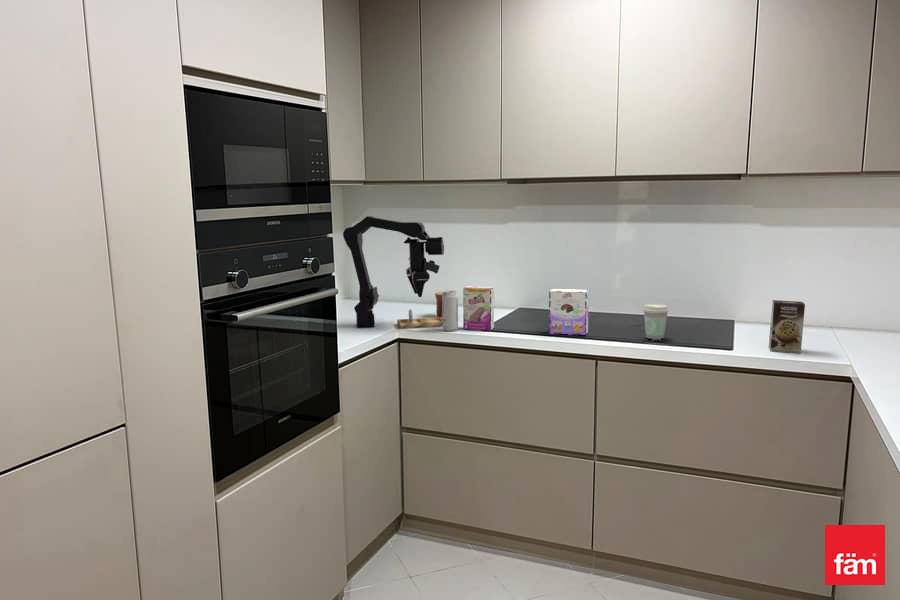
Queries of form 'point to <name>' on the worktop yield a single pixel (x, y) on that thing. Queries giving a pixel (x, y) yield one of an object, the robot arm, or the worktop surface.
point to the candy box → (568, 311)
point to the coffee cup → (655, 320)
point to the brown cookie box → (786, 326)
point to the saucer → (410, 316)
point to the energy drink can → (450, 311)
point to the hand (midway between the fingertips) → (418, 295)
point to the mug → (439, 303)
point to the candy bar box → (478, 308)
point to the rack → (420, 323)
